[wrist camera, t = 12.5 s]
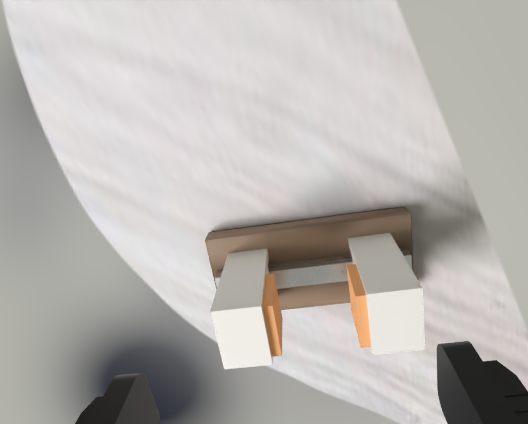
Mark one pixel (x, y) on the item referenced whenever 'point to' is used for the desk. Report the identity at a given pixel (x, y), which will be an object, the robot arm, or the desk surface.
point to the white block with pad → (384, 296)
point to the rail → (311, 247)
